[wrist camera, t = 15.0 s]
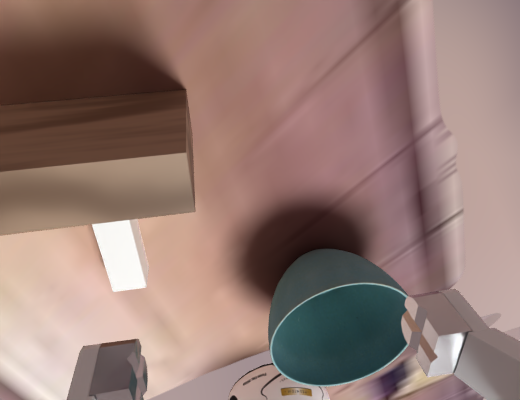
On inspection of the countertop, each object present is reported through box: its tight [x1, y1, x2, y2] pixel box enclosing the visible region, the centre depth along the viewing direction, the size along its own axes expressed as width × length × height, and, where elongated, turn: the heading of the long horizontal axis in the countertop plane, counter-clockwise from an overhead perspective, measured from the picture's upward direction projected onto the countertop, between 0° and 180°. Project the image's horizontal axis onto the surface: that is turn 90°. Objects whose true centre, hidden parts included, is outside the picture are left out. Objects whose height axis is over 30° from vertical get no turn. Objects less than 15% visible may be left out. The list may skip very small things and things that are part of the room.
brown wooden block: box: [0, 90, 195, 235], centre depth 36 cm, size 8×20×16 cm, turn 92°
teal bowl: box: [268, 249, 408, 386], centre depth 53 cm, size 18×18×12 cm
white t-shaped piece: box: [92, 219, 149, 292], centre depth 45 cm, size 17×8×6 cm, turn 2°
